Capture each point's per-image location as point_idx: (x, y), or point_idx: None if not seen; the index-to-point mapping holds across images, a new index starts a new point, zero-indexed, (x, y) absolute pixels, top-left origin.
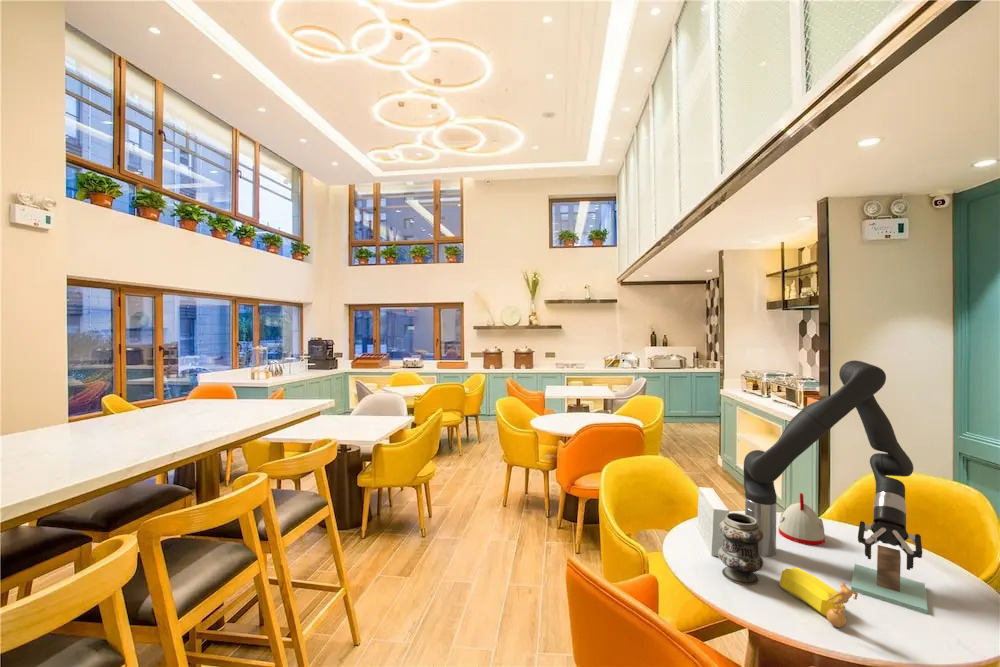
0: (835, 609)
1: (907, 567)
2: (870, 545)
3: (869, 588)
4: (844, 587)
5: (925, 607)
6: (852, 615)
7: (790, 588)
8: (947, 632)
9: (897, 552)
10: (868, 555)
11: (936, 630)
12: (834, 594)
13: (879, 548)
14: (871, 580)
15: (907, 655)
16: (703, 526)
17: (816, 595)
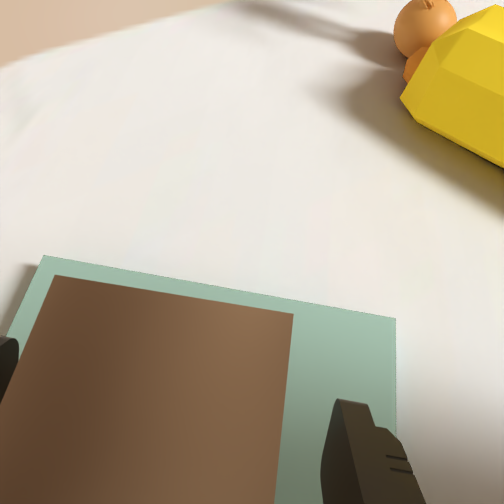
0: (439, 2)
1: (13, 344)
2: (369, 497)
3: (301, 349)
4: None
5: (43, 275)
6: (370, 124)
7: None
8: (34, 160)
9: (29, 422)
10: (358, 402)
11: (75, 156)
12: (466, 27)
13: (256, 439)
14: (278, 490)
15: (229, 8)
16: None
17: None
